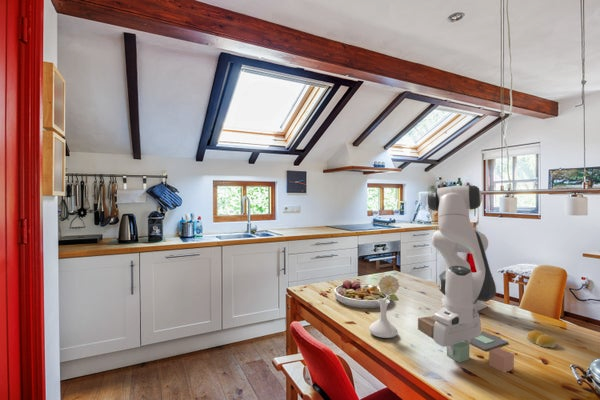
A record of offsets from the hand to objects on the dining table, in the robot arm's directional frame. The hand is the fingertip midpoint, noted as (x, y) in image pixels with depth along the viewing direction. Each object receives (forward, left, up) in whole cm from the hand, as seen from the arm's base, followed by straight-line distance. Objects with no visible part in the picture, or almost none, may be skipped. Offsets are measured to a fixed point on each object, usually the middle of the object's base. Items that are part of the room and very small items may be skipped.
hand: (457, 352), depth 107 cm
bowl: (-5, -62, -2) cm, 62 cm away
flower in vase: (+12, -24, -2) cm, 27 cm away
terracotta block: (-8, +10, -2) cm, 13 cm away
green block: (0, 0, -2) cm, 2 cm away
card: (-20, -4, -2) cm, 20 cm away
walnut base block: (-8, -18, -2) cm, 20 cm away
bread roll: (-40, +6, -2) cm, 40 cm away
